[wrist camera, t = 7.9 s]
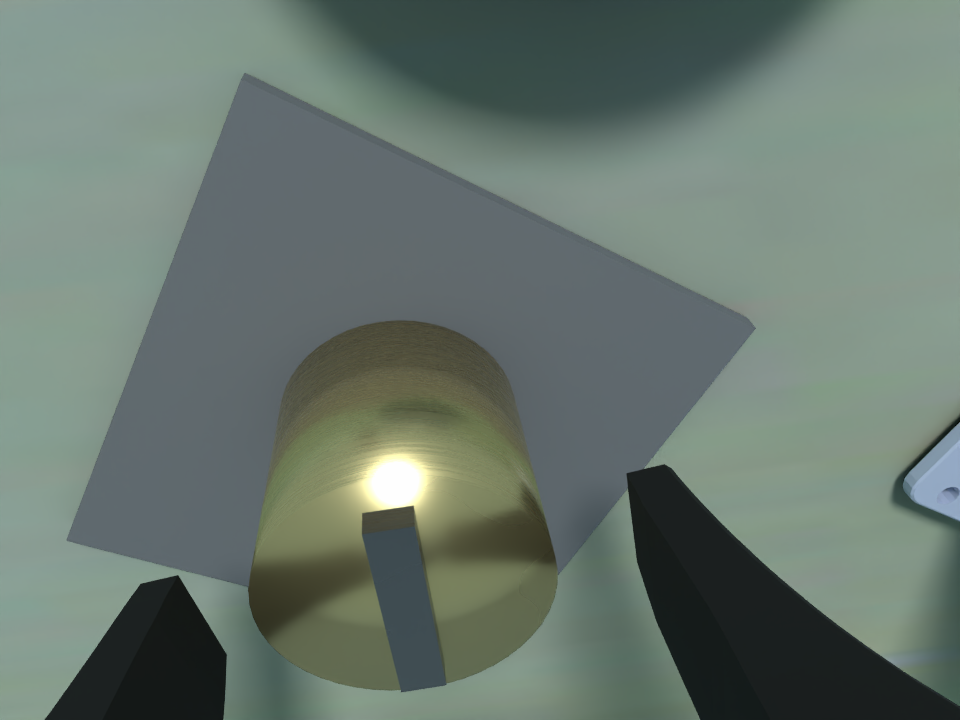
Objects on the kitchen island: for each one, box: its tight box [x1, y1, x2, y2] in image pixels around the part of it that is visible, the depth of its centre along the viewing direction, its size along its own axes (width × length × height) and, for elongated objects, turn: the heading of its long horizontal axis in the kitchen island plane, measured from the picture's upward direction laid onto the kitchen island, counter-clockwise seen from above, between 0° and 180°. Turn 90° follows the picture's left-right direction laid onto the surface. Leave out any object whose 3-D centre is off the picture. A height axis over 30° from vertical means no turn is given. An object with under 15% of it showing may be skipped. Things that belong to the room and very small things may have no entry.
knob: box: [248, 320, 558, 692], centre depth 13 cm, size 4×4×5 cm
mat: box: [66, 73, 756, 587], centre depth 15 cm, size 10×10×1 cm
